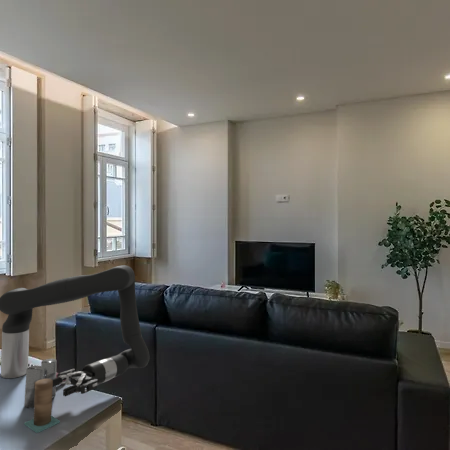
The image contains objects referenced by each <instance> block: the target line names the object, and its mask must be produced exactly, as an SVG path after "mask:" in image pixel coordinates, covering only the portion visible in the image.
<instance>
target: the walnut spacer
mask: <svg viewBox="0 0 450 450" xmlns="http://www.w3.org/2000/svg"><path fill="white" fill-rule="evenodd" d="M52 389H53V380H52V379H41V380H38V381H37V382H35V399H34V408H33V419H34V425H36V426H43V425H46V424H48V423H50V422H51V416H52V412H53V411H52V410H53V397H52Z"/></svg>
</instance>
